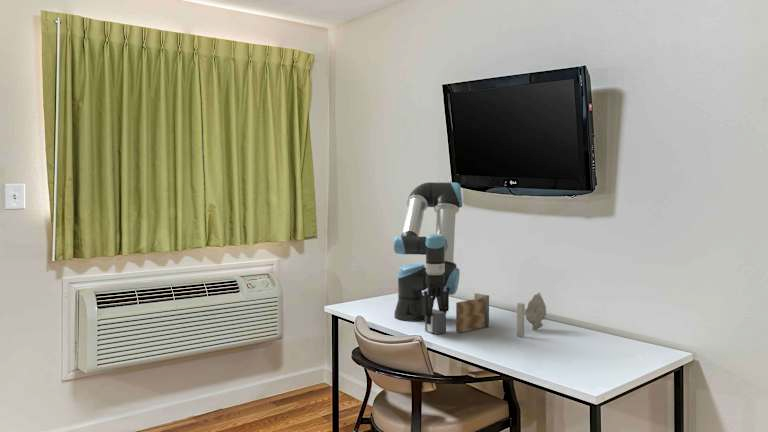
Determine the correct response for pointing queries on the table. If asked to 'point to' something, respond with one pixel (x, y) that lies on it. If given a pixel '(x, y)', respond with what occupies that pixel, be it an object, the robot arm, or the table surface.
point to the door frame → (519, 314)
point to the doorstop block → (438, 322)
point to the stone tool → (536, 311)
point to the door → (470, 315)
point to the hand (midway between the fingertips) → (435, 330)
